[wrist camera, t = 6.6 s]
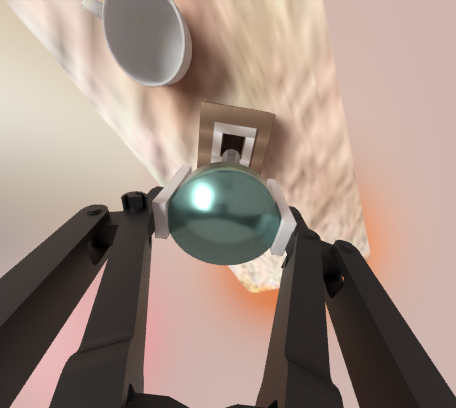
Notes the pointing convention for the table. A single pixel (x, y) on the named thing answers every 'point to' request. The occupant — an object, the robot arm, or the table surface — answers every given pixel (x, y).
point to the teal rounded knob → (224, 213)
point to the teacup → (146, 38)
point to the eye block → (233, 133)
